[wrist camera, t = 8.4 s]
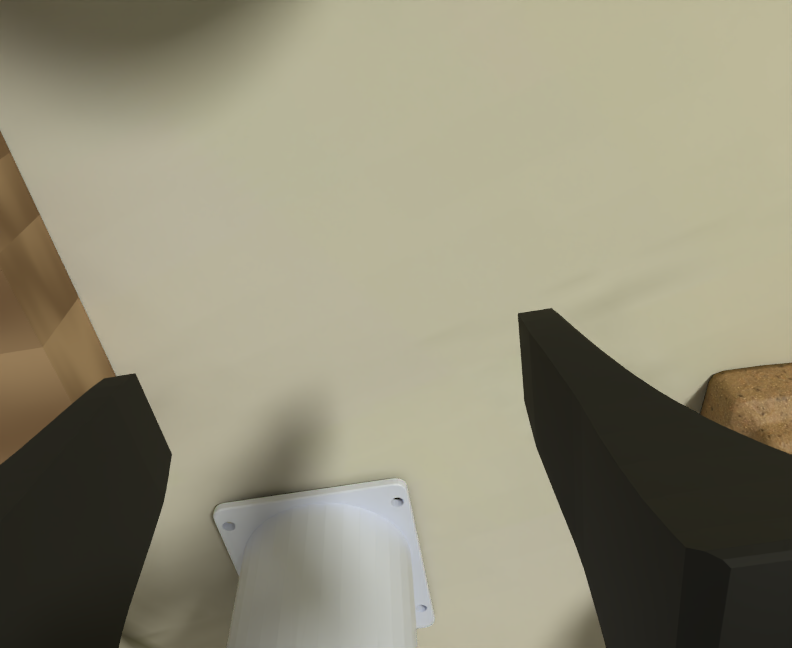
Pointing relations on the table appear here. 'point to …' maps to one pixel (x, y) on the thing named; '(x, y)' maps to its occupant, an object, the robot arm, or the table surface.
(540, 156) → the table surface
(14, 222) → the brown slotted holder
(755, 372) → the candle holder
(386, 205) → the table surface
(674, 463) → the robot arm
